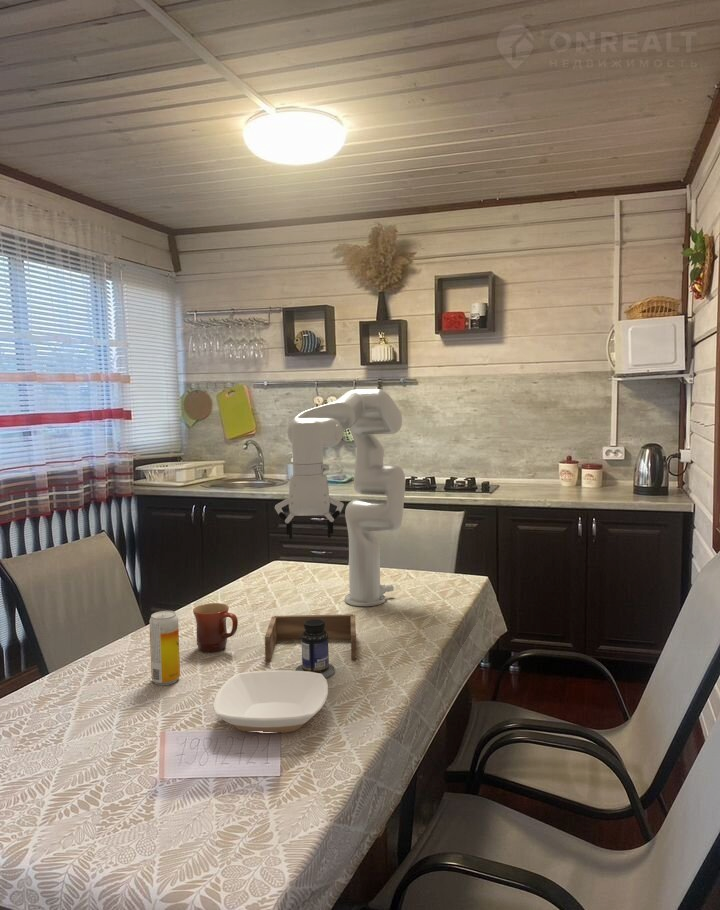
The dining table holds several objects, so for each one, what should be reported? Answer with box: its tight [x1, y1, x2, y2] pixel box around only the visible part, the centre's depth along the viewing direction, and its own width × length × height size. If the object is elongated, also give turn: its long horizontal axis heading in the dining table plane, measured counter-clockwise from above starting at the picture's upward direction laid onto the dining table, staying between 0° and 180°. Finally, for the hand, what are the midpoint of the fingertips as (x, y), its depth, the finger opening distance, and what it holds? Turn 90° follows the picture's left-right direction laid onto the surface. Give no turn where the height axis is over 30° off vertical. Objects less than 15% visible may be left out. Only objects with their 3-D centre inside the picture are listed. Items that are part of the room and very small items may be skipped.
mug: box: [192, 602, 239, 653], centre depth 165 cm, size 12×9×10 cm
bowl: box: [212, 669, 329, 734], centre depth 129 cm, size 22×22×5 cm
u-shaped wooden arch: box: [264, 613, 357, 663], centre depth 165 cm, size 16×22×6 cm
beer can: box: [149, 610, 181, 686], centre depth 147 cm, size 6×6×15 cm
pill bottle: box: [300, 619, 330, 673], centre depth 150 cm, size 6×6×11 cm
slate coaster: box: [294, 663, 336, 680], centre depth 151 cm, size 9×9×1 cm
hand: (310, 537), depth 167 cm, fingers open, 9 cm apart
